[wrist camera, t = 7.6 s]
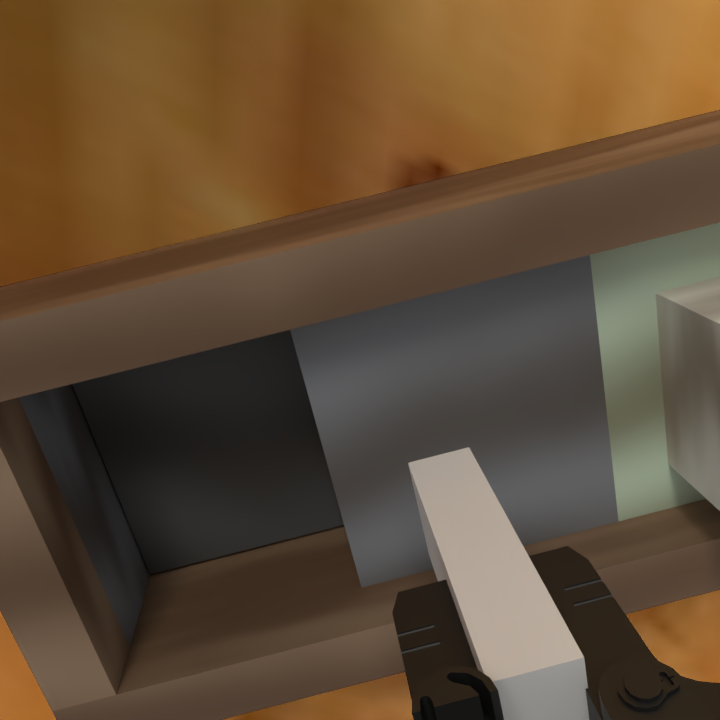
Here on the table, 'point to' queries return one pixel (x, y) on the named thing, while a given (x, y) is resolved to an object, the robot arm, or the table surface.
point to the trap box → (344, 423)
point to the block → (692, 382)
